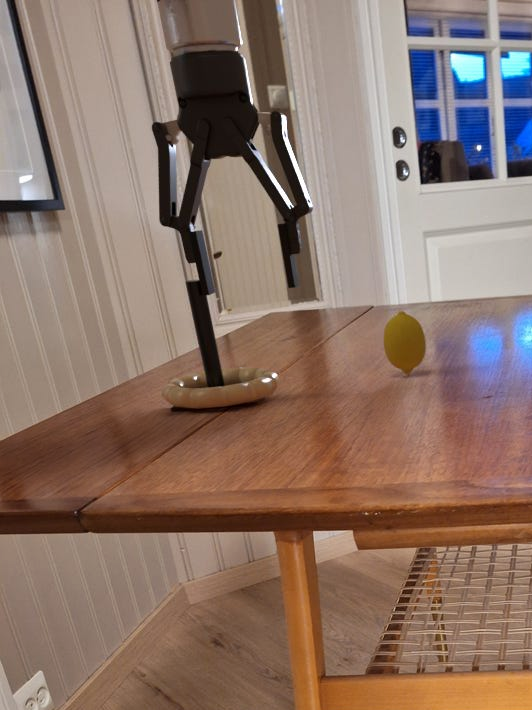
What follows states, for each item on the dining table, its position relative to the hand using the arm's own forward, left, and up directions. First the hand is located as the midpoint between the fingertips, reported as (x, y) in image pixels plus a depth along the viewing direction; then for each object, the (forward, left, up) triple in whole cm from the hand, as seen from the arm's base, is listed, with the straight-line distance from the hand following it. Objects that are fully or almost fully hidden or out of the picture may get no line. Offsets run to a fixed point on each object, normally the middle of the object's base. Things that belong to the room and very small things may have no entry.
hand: (251, 290), depth 99 cm
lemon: (+16, +13, -13) cm, 24 cm away
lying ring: (-6, 0, -10) cm, 12 cm away
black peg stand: (-6, 0, -13) cm, 14 cm away
